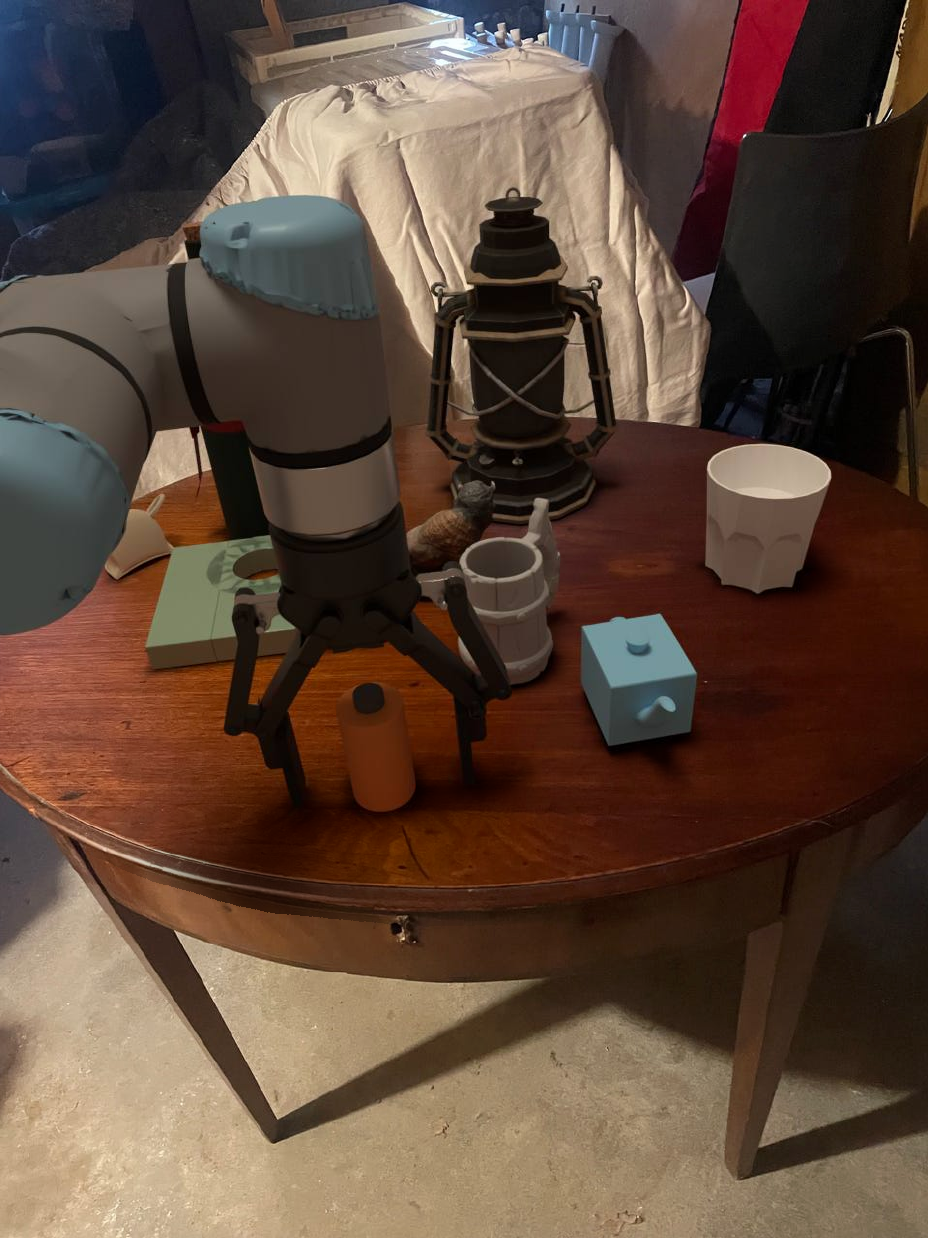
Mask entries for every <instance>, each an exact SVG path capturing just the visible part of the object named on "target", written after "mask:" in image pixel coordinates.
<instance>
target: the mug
mask: <svg viewBox="0 0 928 1238" xmlns="http://www.w3.org/2000/svg"><path fill="white" fill-rule="evenodd" d="M533 505H534V511H533V513H532V516H531V517H530V520H529V523H528V529H527V533H526V534H525V535H524V537H521V538H517V537H504V536H498V537H492V538H491V537H490V538H487V539H483V540H481V541H479V542H477V543H475V544H473V545H471V546H470V547H469V548H467V549H466V551H465V553H464V554H463V555H462V556H461V558H460V565H461V567H462V570H463V575H464V580H465V584H466V589H467V597H468V599H469V601H470V603H471V605H472V606H473V608H474V610H475V612H476V614H477V615H478V617H479V619H480V621H481V623H482V624H483V626H484V628H485V630H486V632H487V633H488V635H489V637H490V639H491V641H492V642H493V644H494V646H495V648H496V650H497V651H498V653H499V655H500V657H501V659H502V660H503V662H504V664H505V666H506V669H507V673H508V677H509V681H510V685H511V686H512V685H517V684H525V683H527V682H530V681H532V680H534V679H536V678H537V677H538V676H539V675H541V672H544V671H545V669H546V668H547V665H548V663H549V662H548V661H549V658H550V656H551V653H552V650H553V647H554V641H553V635H552V632H551V630H550V628H549V626H548V622H547V611H548V610H551V609H552V606H553V602H554V597H555V594H557V593H558V591H559V590H558V589H559V583H560V572H559V569H560V567H561V553H560V552H559V551H558V547H557V545H558V541H557V540H556V537H555V533H554V530H553V526H552V522H551V520H549V514H548V508H549V501H548V500H547V499H542V498H536V499H535V501H534V504H533ZM457 647H458V653H459V656H460V659H461V660H462V661H463V662H464V663H465V664H466V665H467V666H468V667H469V668H471V669H472V670H473V671H474V672H475V673H476V674H477V675H480V674H481V673H480V671H479V669H478V668H477V666H476V664H475V663H474V661H473V659H472V657H471V656H470V654H469V652H468V651H467V649H466V647H465V645H464V644H463V642H462V640H461V639H460V637H459V636H458V637H457Z"/></svg>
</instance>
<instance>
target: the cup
mask: <svg viewBox="0 0 928 1238" xmlns="http://www.w3.org/2000/svg"><path fill="white" fill-rule="evenodd" d="M831 479H832V471H831V469H830V468H829V466H828V465H827V463H826V462H825V461H823V460H822V459H821V458H820V457H818V456H816V455H814V454H812V453H810V452H808V451H805V450H802V449H798V448H795V447H791V446H786V445H780V444H769V443H755V444H743V445H737V446H732V447H729V448H727V449H723V450H721V451H719V452H718V453H716V454H714V455H713V456H712V457H711V458H710V460H709V461H708V463H707V467H706V525H705V526H706V527H705V529H706V530H705V563H704V565H705V567H707V568H709V569H710V570H713V572H715V574H716V575H717V576H718V577H719V578H720V580H721V581H720V582H721V585H722V586H725V585H726V586H735V587H739V588H743V589H747V590H750V591H752V592H754V593H755V594H757V595H759V594H760V593H762V592H764V591H766V590H771V589H776V588H783V587H784V588H793V586H794V582H795V578H796V574H797V572H799V571H801V570H803V567H804V564H805V560H806V558H807V557H806V556H807V553H808V549H809V547H810V542H811V539H812V535H813V532H814V528H815V524H816V522H817V520H818V518H819V515H820V512H821V510H822V507H823V503H824V501H825V498H826V495H827V492H828V489H829V486H830V483H831Z"/></svg>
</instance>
